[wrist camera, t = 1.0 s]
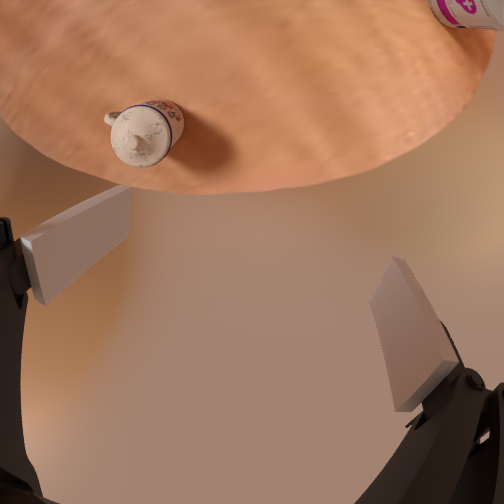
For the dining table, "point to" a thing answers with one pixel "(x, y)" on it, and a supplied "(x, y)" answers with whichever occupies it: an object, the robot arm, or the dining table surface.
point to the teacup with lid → (145, 131)
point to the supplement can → (470, 13)
